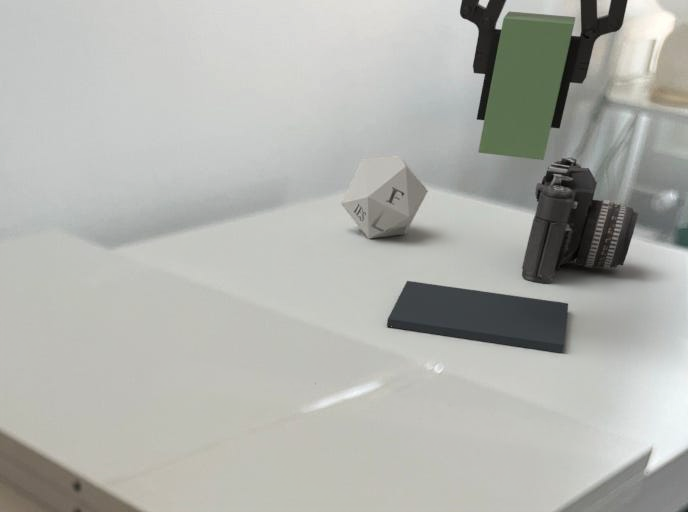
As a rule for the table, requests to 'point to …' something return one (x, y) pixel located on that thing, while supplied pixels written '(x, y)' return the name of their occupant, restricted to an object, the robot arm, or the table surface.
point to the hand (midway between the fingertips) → (518, 120)
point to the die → (384, 196)
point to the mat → (481, 316)
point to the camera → (575, 224)
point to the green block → (525, 84)
